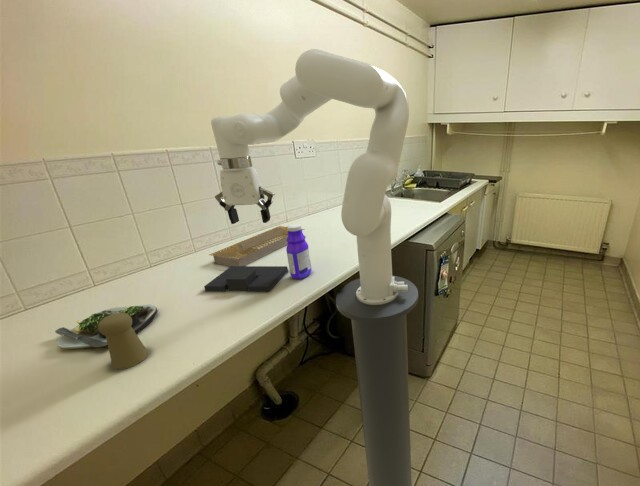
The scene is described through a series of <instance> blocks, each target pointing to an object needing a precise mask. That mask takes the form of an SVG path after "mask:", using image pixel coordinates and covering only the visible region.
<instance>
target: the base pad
mask: <svg viewBox="0 0 640 486" xmlns="http://www.w3.org/2000/svg"><path fill="white" fill-rule="evenodd" d="M237 270H255V272H256V277H257V278H256V279H255V280H254V281H253V282H252V283H251V284H250V285H248V286H247V287H248V291H247V292H248V293H252V292H253V293H255V292H256V293H265V292H266V293H269V292H270V291H271V290H272V289H273V288H274V287H275V286H276V285H277V284H278V283H279V282H280V280H281V279H283V278H284V276H285V275H286V274H287V273H289V267H288V266H287V265H285V266H281V265H279V266H278V265H275V266H273V265H269V266H267V265H266V266H265V265H261V266H260V265H249V266H248V265H245V266H229V267H228V268H227V269H225V270H223V272H222V273H220V274H219V275H217V276H216V277H214V278H213V279H212V280H211V281H209V282H208V283H206V284H205V285H204V290H205V292H227V291H229V289H228V285H227V282H226V279H227V278H228V277H229V276H231V275H232V274H233V273H234V272H236V271H237Z"/></svg>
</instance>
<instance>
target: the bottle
mask: <svg viewBox="0 0 640 486" xmlns="http://www.w3.org/2000/svg"><path fill="white" fill-rule="evenodd" d="M286 227H287V228H288V235H287V236H288V238H287V242H288V244H287V245H286V249H285V250H286V257H287V263H288V270H289V274H290V277H291V278H293V279H296V280H297V279H298V280H300V279H305V278H306V277H308V276H309V275H310V274H311V273H312V263H311V262H312V261H311V256H310V248H309V244H308V242H307V240H306V236H305V235H304V233H303V228H302V225H301V224H299V223H293V224H292V223H291V224H289V225H287V226H286Z"/></svg>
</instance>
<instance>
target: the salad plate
mask: <svg viewBox="0 0 640 486" xmlns="http://www.w3.org/2000/svg"><path fill="white" fill-rule="evenodd" d="M158 311H159V309H158V308H157V307H156V306H155V305H153V304H140V305H130V306H117V307H111V308H106V309H103V310H102V311H99V312H96V313H91V315H90V316H88V317H85V318H84V319H83V320H76V323H77V324H78V325H77V326H75V327H73V328H70V329H69V328H67V327H65V326H63V327H60V328H59V327H58V328H57V329H56V330H55V331H54V332H55V334H57V335H59V336H60V338H59V339H57V343H56V344H57V346H58V347H59V348H62V349H84V348H104V347H105V348H106V347H108V344H107V340H106V336H105V335H102V334H101V333H100V331H99V330H98V325H99V322H100V321H101V320H102V319H104V318H105V317H107V316H110V315H113V314H116V313H126V314H128V315H129V316H130V317H131V318H132V325H131V327H132V328H133V330H134V331H135V333H136V334H137V335H138V334H139V333H141V331H142V330H143V329H145V328H146V327H147V326H149V325H150V323H151V322H152V321H153V320H154V318H155V317H156V315H157V313H158Z"/></svg>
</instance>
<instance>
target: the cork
mask: <svg viewBox="0 0 640 486" xmlns="http://www.w3.org/2000/svg"><path fill="white" fill-rule="evenodd" d="M131 325H132V318H131V317H130V316H129V315H128V314H126V313H116V314H113V315H110V316H107V317H105V318H104V319H102V320H101V321H100V322H99V325H98V330H99V331H100V333H101V334H102V335H105V336H106V340H107V344H108V346H107V347H108V348H107V349H108V353H109V357H110V361H111V366H112V368H113V369H114V370H124V369H129V368H132V367H135V366H136V365H138V364H140V363H141V362H143V361H144V360H146V358H147V357H148V356H149V350H148V349H147V348H146V347H145V345H144V344H143V342H142V340H141V339H140V337H139V336H138V333H137V334H136V333H135V331H134V330H133V328H132V327H131Z"/></svg>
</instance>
